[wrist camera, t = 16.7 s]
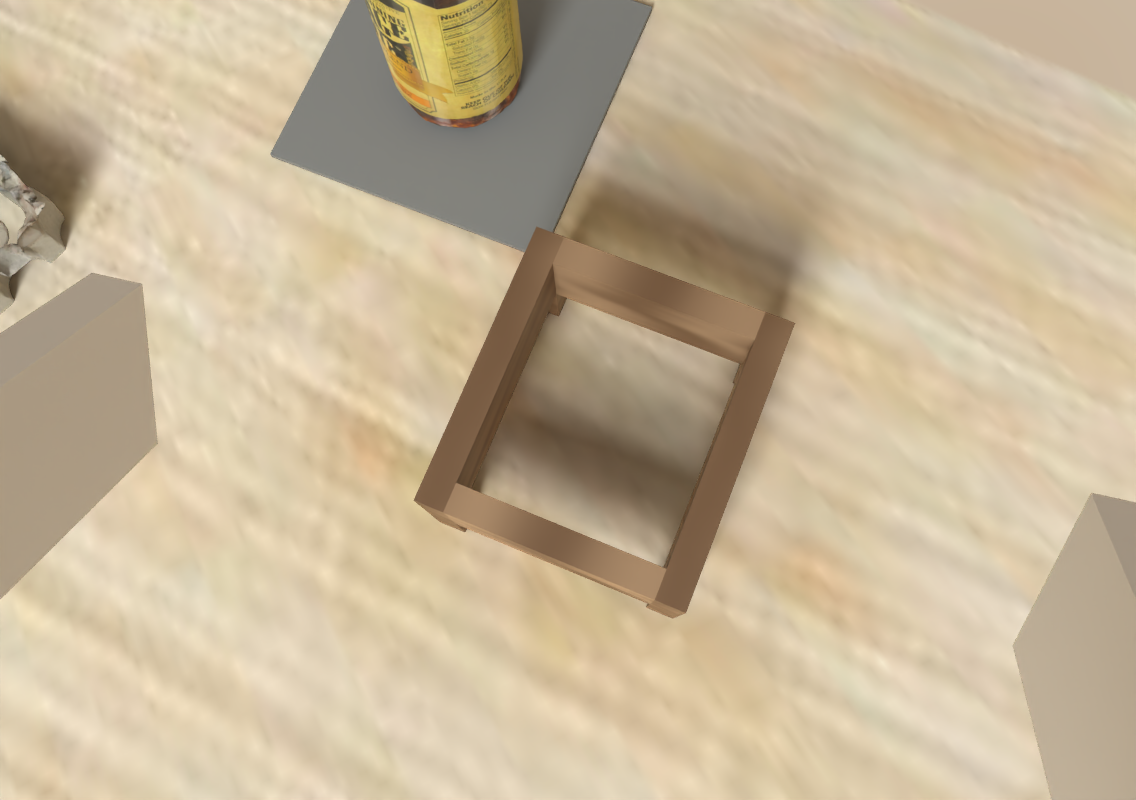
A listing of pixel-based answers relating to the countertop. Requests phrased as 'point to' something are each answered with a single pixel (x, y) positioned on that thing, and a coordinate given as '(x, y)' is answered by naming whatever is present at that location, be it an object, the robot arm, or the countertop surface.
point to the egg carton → (27, 230)
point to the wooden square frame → (533, 292)
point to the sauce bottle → (452, 56)
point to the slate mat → (476, 154)
